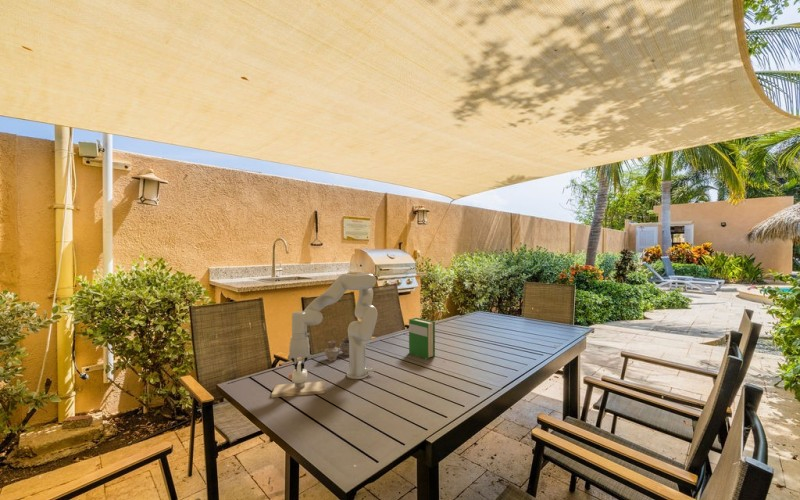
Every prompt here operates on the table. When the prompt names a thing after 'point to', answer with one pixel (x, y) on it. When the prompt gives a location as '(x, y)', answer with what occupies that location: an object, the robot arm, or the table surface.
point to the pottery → (337, 349)
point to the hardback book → (422, 337)
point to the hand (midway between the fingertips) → (299, 370)
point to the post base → (298, 389)
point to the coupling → (298, 374)
